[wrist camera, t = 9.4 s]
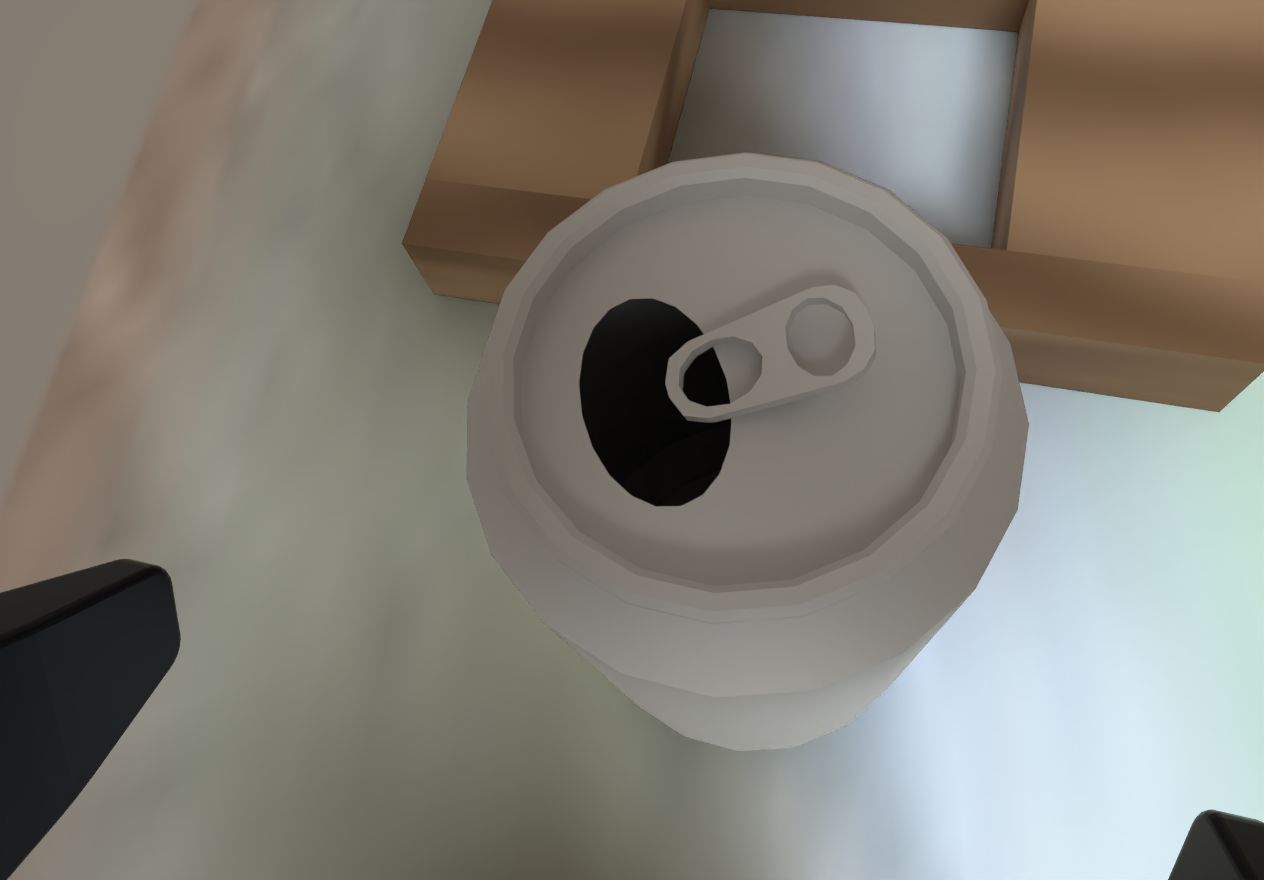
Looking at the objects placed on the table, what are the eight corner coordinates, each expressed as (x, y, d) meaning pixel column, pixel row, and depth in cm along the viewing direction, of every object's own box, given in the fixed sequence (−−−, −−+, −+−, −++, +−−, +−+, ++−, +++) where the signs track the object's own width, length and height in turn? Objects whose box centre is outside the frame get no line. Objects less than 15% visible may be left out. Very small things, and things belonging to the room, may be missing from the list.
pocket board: (1219, 412, 22) (1270, 364, 20) (433, 293, 26) (401, 243, 24) (1233, -47, 27) (1276, -128, 25) (567, -86, 31) (551, -158, 29)
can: (566, 478, 24) (391, 182, 13) (858, 406, 24) (937, 38, 12) (627, 788, 21) (468, 752, 10) (962, 711, 21) (1185, 583, 10)
